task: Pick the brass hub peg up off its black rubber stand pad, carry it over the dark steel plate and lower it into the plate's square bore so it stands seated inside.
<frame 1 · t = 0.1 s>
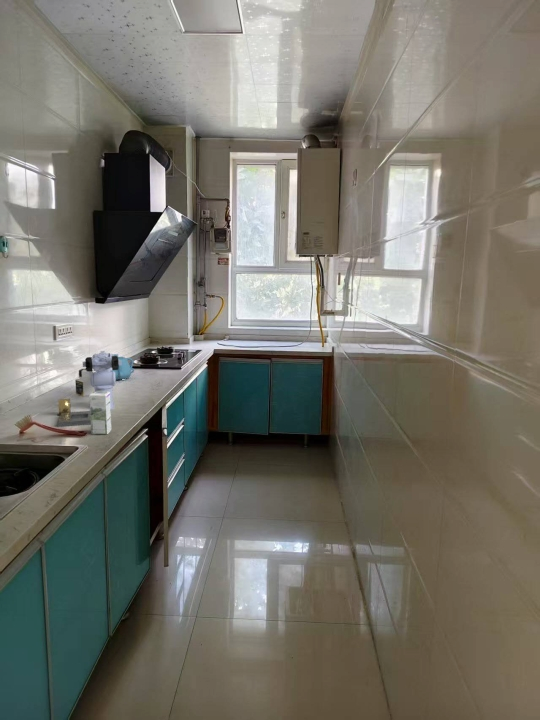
hand: (101, 365, 194), 22 cm above the countertop, tool horizontal, fingers open, 7 cm apart
decorative pot: (116, 379, 275), on the countertop
steel plate: (79, 421, 196), on the countertop
stand pad: (65, 415, 204), on the countertop
medicine bottle: (86, 394, 240), on the countertop
syrup box: (101, 432, 182), on the countertop
hub peg: (64, 414, 203), resting on stand pad
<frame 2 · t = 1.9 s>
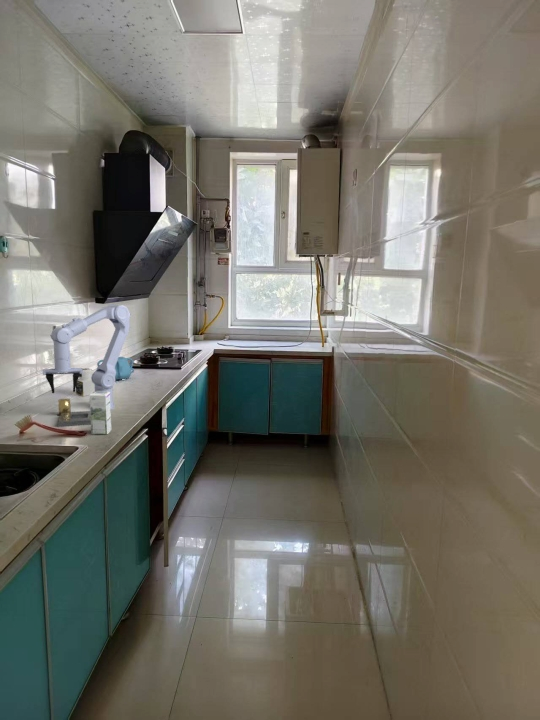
hand: (63, 392, 202), 9 cm above the countertop, tool pointing down, fingers open, 7 cm apart
nothing on the countertop moved.
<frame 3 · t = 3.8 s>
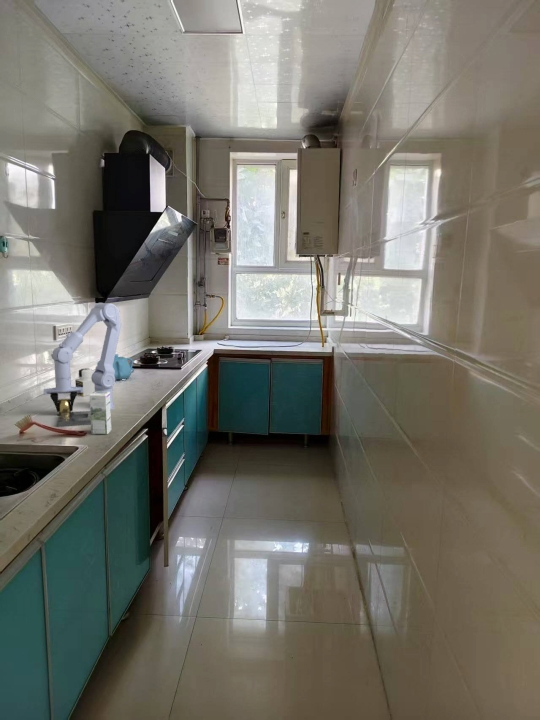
hand: (64, 411, 203), 2 cm above the countertop, tool pointing down, fingers closed on hub peg, 4 cm apart
hub peg: (64, 414, 203), resting on stand pad, touching gripper
everything else where it was.
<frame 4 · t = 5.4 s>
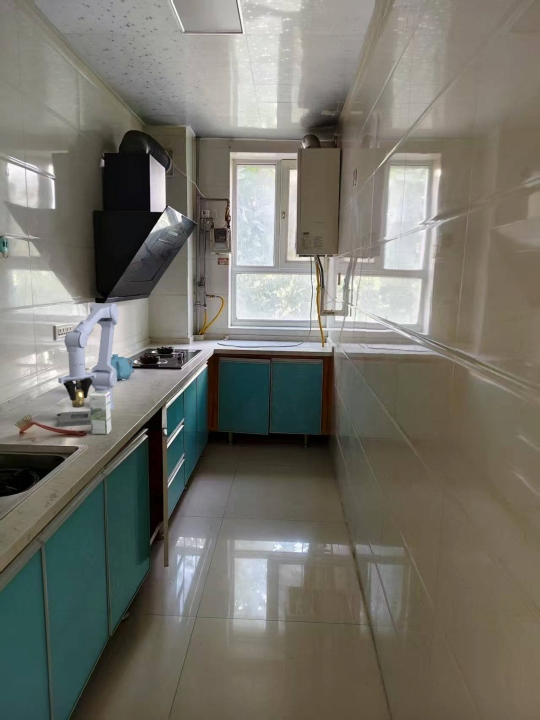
hand: (78, 399, 194), 9 cm above the countertop, tool pointing down, fingers closed on hub peg, 4 cm apart
hub peg: (78, 406, 195), point 6 cm above the countertop, touching gripper
everything else where it was.
when the fingers open (3 cm above the countertop, at t = 7.3 s): hub peg stays where it is, resting in steel plate.
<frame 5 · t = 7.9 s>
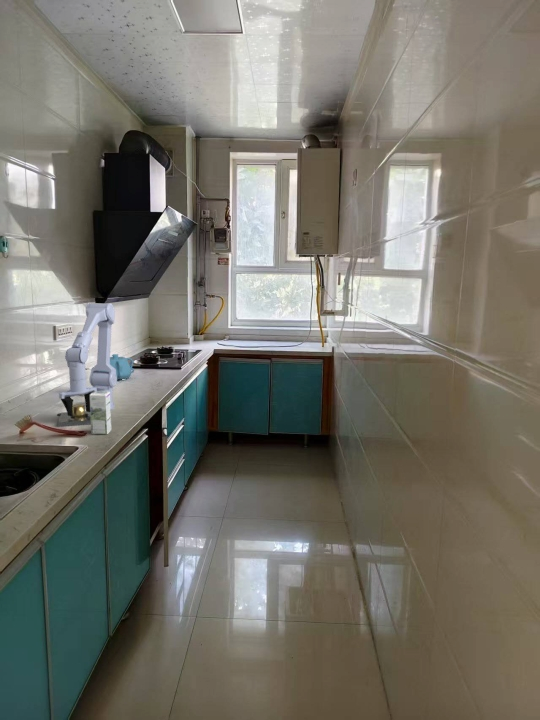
hand: (79, 413, 195), 3 cm above the countertop, tool pointing down, fingers open, 7 cm apart
hub peg: (79, 421, 196), resting in steel plate
everything else where it was.
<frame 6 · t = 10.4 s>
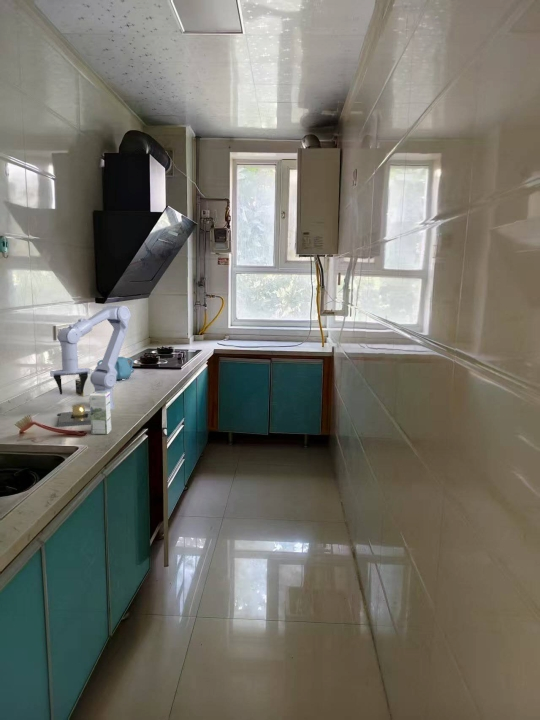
hand: (71, 393, 201), 9 cm above the countertop, tool pointing down, fingers open, 7 cm apart
nothing on the countertop moved.
at the end: hub peg 0.4 cm off-centre on the steel plate, point 0.0 cm above the steel plate's base; hub peg tilted 0°; the gripper is holding nothing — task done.
